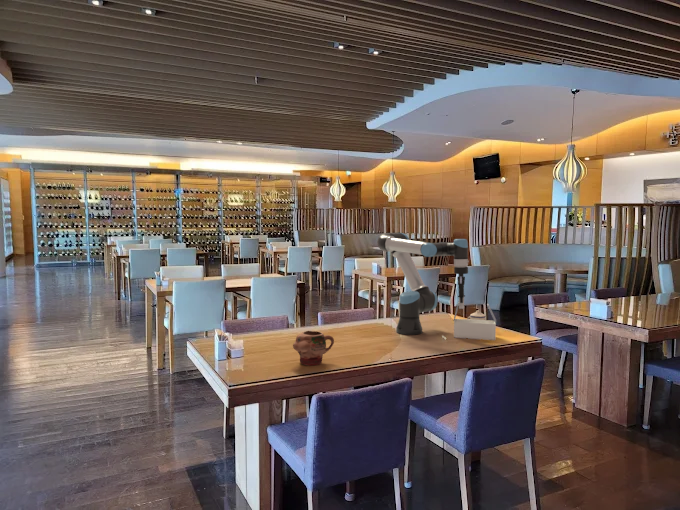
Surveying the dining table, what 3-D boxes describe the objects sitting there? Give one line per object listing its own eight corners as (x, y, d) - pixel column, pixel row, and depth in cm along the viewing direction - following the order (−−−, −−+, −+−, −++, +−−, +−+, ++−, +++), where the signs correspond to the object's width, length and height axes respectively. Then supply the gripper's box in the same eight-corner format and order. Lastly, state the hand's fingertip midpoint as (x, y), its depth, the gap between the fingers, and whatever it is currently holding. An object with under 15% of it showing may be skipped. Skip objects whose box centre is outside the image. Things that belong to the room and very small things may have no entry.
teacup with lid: (488, 330, 285) (489, 310, 284) (479, 332, 280) (479, 312, 279) (472, 326, 295) (472, 308, 294) (462, 328, 289) (462, 309, 289)
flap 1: (454, 321, 266) (453, 320, 266) (455, 318, 275) (454, 317, 275) (458, 303, 265) (457, 303, 265) (459, 301, 273) (458, 300, 273)
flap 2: (495, 320, 268) (496, 320, 268) (495, 323, 260) (496, 323, 259) (487, 303, 269) (488, 303, 269) (487, 306, 260) (488, 305, 260)
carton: (453, 337, 267) (454, 321, 266) (455, 334, 275) (455, 318, 275) (495, 340, 260) (495, 324, 260) (495, 336, 269) (495, 320, 268)
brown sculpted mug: (326, 356, 230) (326, 327, 230) (339, 362, 220) (339, 332, 219) (288, 362, 220) (288, 332, 219) (300, 369, 210) (300, 337, 209)
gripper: (467, 267, 260) (468, 310, 262) (468, 265, 273) (468, 306, 274) (453, 267, 262) (454, 310, 264) (454, 265, 275) (455, 306, 276)
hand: (461, 308), depth 269 cm, fingers closed
